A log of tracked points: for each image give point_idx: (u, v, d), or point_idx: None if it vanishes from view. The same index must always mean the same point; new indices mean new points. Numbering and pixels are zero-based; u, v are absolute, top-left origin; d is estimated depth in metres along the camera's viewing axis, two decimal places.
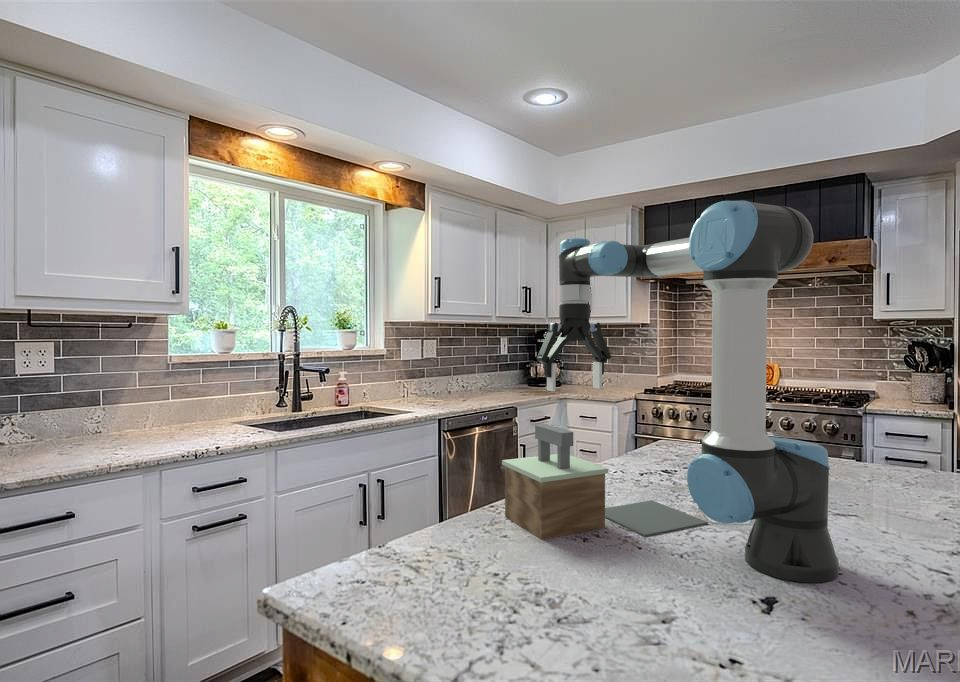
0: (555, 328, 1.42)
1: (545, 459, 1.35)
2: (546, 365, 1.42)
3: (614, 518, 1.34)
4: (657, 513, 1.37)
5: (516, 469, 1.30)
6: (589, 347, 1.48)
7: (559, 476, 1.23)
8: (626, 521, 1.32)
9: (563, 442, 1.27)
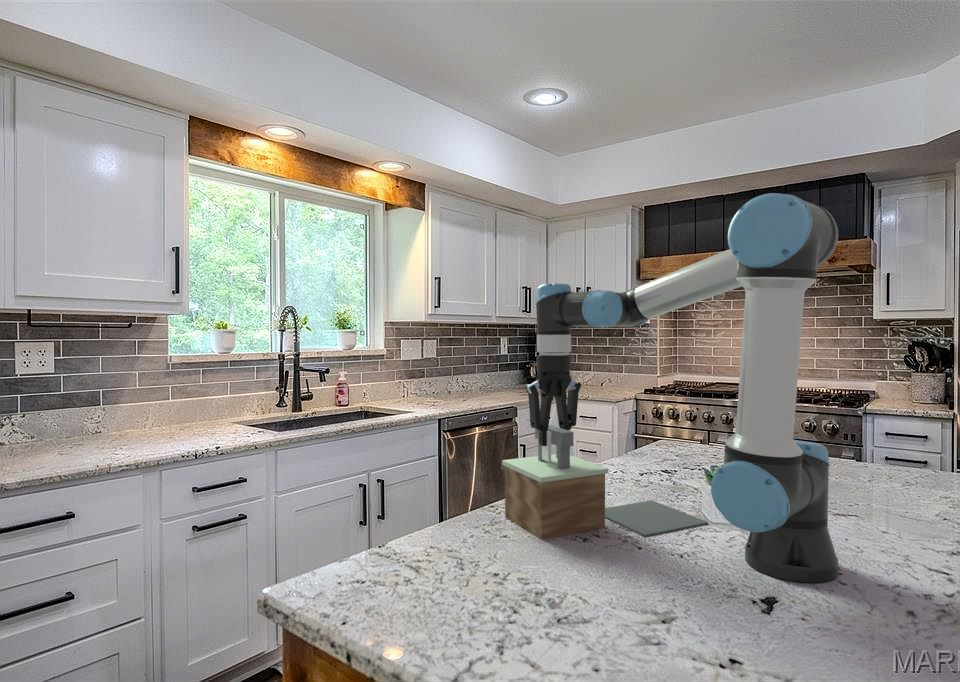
0: (534, 391, 1.28)
1: None
2: (541, 433, 1.30)
3: (614, 518, 1.34)
4: (657, 513, 1.37)
5: (516, 469, 1.30)
6: (559, 407, 1.32)
7: (559, 476, 1.23)
8: (626, 521, 1.32)
9: (563, 442, 1.27)
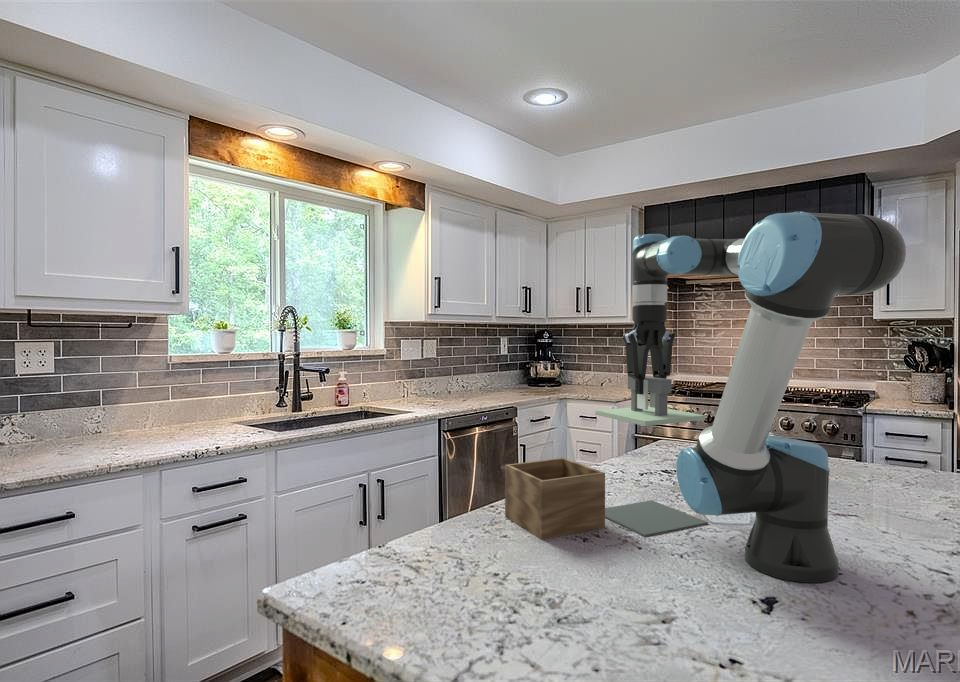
0: (633, 339, 1.31)
1: (638, 409, 1.38)
2: (638, 381, 1.33)
3: (614, 518, 1.34)
4: (657, 513, 1.37)
5: (613, 417, 1.33)
6: (654, 357, 1.35)
7: (661, 420, 1.25)
8: (626, 521, 1.32)
9: (662, 389, 1.29)
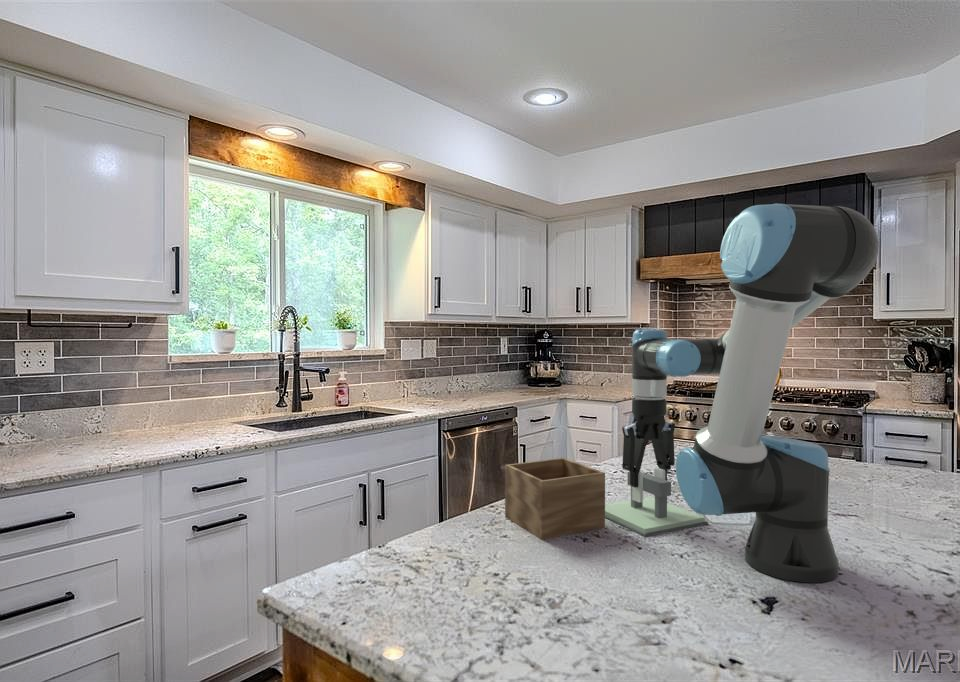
0: (631, 433, 1.31)
1: (638, 505, 1.38)
2: (633, 474, 1.33)
3: None
4: None
5: (613, 517, 1.33)
6: (656, 449, 1.36)
7: (661, 527, 1.26)
8: None
9: (662, 492, 1.30)
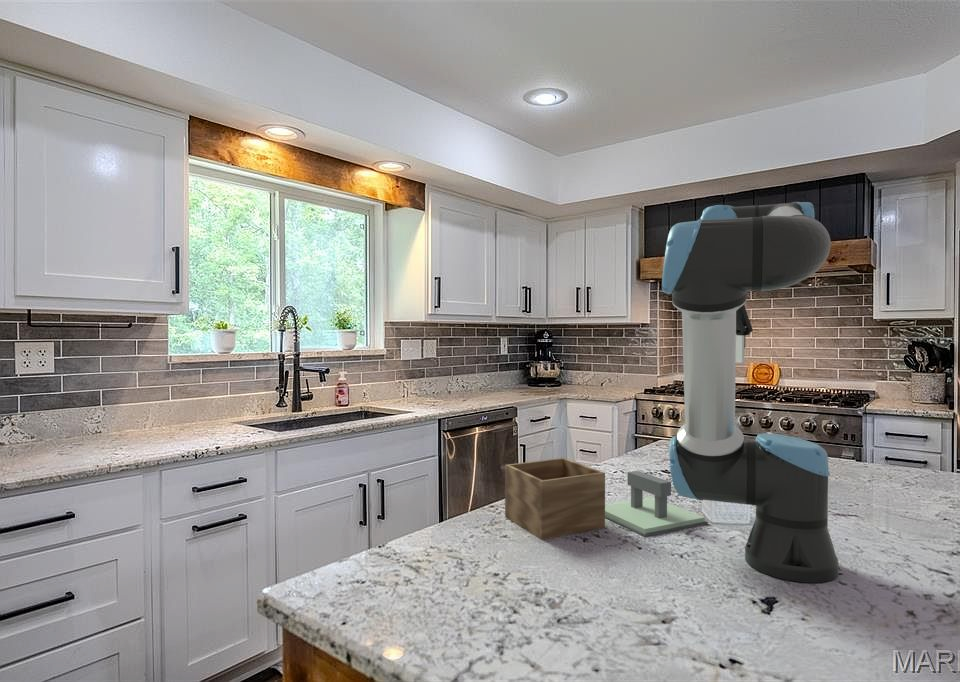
0: None
1: (638, 505, 1.38)
2: None
3: None
4: None
5: (613, 517, 1.33)
6: None
7: (661, 527, 1.26)
8: None
9: (662, 492, 1.30)
